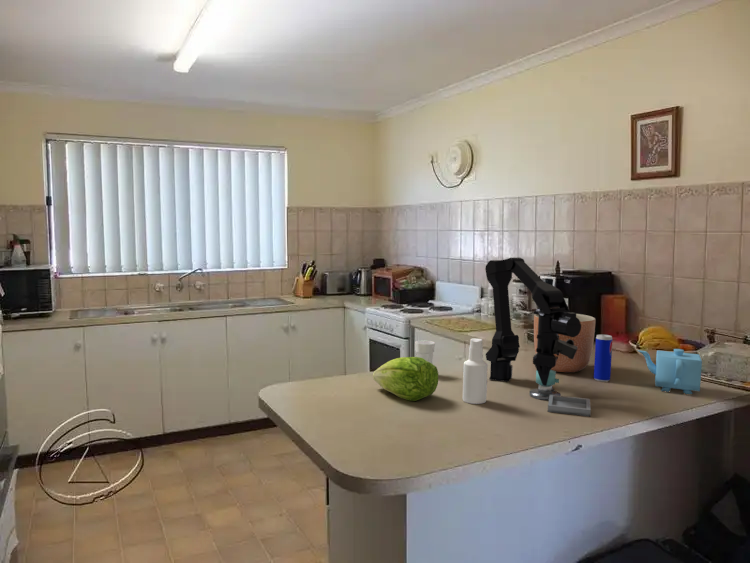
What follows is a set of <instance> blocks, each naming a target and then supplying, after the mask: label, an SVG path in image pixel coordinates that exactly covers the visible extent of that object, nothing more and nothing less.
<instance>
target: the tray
mask: <svg viewBox="0 0 750 563" xmlns="http://www.w3.org/2000/svg"><path fill="white" fill-rule="evenodd" d="M591 409H592V408H591V399H590V398H585V397H584V398H583V397H575V396H573V397H572V396H568V395H567V396H565V395H564V396H563V395H561V396H557V395H550V396H549V400H548V403H547V412H548V413H554V414H556V413H557V414H565V415H573V416H583V417H590V418H591Z"/></svg>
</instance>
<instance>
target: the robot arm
mask: <svg viewBox="0 0 750 563" xmlns="http://www.w3.org/2000/svg"><path fill="white" fill-rule="evenodd" d="M484 270H485V274H486V280H487V281H488V283H489V284H490V286H491V288H492V297H493V298H492V299H493V309H494V310H493V311H494V320H495V321H494V322H495V332H494V334H493V337H492V339H491V346H490V348H489V349H488V350H487V352H486V353H485V359H486V361H488V362H490V369H489V370H490V374H489V379H488V380H490V381H496V382H497V381H498V382H499V381H500V382H506V383H507V382H509V383H510V380H511V379H512V378H513V368H514V366H513V364H512V361H513V362H515V361H516V360H517V357H518V354H519V351H520V347H521V346H520V337H519V335H518V334H515V333H514V331H513V329H512V320H511V318H512V317H511V310H510V309H511V308H510V307H511V306H510V296H509V295H510V294H509V293H510V292H509V285H510V283H511V281H512V280H513V274H514V275H515V277H516V278H517V279H518V280H519V281H520V282H521V283H522V284H523V285H524V286H525V287H526V288H527V289H528V290H529V292H531V298H532V300H533V301H534V303H535V304H536V307H538V308H536V309H535V310H534V311H533V315H535V314H537V315H539V318H538V334H537V339H538V340H537V349H536V352H538V353H536V354H535V353H534V355H533V357H532V364H533V365H534V366H535V369H536V370H537V371H538V374H539V377H540V379H541V382H542V385H547V381H548V377H549V373H550V370H551V369H552V368H553V367H555V365H556V360H557V359H558V357H557V356H555V355H554V354H557V355H559V353H560V354H563V355H565V356H567V357H568V358H570V359H573V358H574V356H575V353H576V351H577V348H578V347H576V346H574V341H573V340H571V339H568V340H567V341H566V342H565V341H562V340H560V339H559V335H558V334H561V335H565V336H569V337H576V336H577V335H578V334H579V333H580V330H581V323H580V320H579V319H578V318H576V314H577V312H571V311H570V308H569V306H568V304H567V302H566V300H565V298H564V293H563V292H562V291H561V290H560V288H557V287H556V286H555V285H553V284H549V283H547V282H545V281H544V280H543V279H542V278H541V277H540V276H539V275H538V274H537V273H536V272H535V271H534V270H533V269H532V268H531V267H530V266H529V265H528V264H527V263H526V261H525V260H524V258H522V257H509V258H506V259H499V260H498V259H496V260H495V259H493V260H488V262H487V264H486V265H485V269H484Z"/></svg>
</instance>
